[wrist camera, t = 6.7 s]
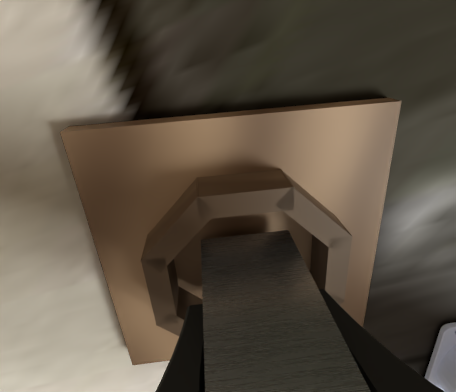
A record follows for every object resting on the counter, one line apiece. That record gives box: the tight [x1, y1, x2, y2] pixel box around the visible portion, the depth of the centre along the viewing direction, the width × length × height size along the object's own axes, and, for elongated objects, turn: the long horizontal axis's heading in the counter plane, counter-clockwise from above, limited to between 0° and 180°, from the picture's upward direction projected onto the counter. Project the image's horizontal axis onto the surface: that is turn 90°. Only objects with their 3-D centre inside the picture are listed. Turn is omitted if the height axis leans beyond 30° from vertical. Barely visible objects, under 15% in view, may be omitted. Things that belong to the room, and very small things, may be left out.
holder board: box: [60, 98, 401, 365], centre depth 15 cm, size 14×14×3 cm
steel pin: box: [201, 230, 371, 392], centre depth 11 cm, size 4×4×8 cm
